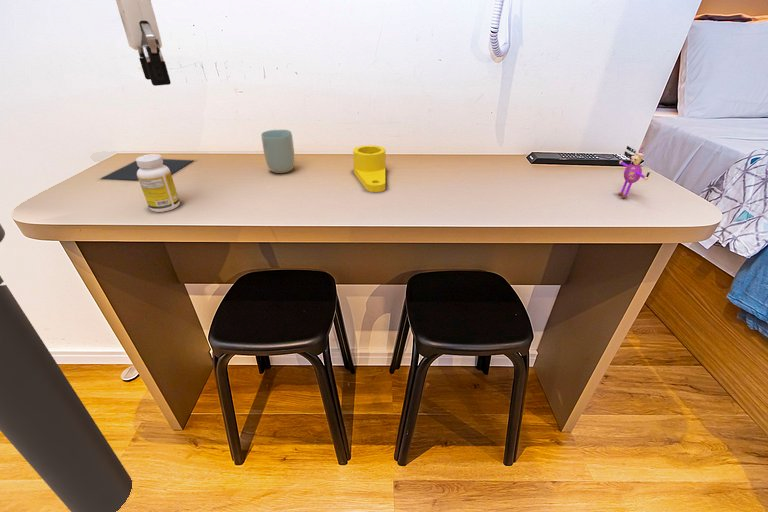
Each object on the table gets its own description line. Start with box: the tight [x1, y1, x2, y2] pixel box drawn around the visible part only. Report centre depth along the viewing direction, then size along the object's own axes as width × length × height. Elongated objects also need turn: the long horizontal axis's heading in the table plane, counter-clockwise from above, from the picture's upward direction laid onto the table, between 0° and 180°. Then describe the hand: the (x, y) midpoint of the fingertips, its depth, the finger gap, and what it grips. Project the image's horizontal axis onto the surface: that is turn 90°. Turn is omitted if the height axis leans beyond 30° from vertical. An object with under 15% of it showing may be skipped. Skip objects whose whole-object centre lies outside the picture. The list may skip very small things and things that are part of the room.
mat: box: [100, 158, 194, 182], centre depth 105 cm, size 16×16×1 cm
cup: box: [260, 129, 296, 174], centre depth 101 cm, size 8×8×10 cm
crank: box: [352, 144, 386, 193], centre depth 98 cm, size 18×8×6 cm, turn 9°
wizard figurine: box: [617, 145, 651, 199], centre depth 87 cm, size 11×3×12 cm, turn 0°
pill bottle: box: [135, 153, 180, 213], centre depth 82 cm, size 6×6×11 cm
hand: (157, 81), depth 77 cm, fingers open, 9 cm apart
